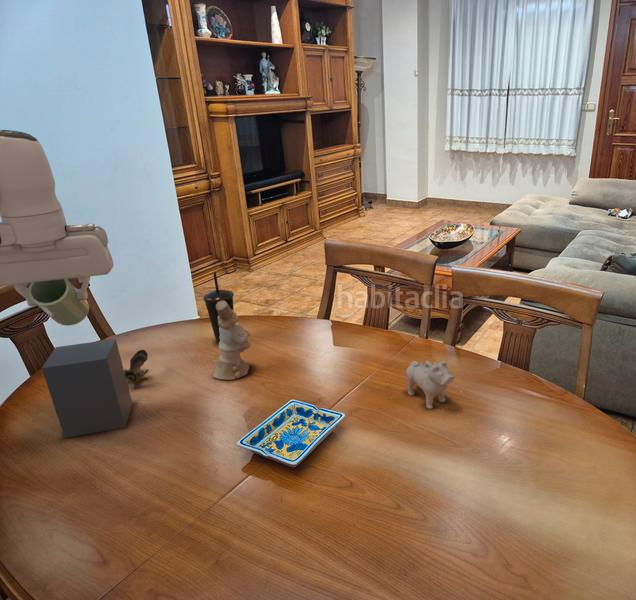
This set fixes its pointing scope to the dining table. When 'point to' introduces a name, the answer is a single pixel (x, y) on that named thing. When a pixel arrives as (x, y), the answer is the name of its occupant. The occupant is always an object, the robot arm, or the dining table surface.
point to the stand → (88, 387)
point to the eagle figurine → (137, 367)
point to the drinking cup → (211, 302)
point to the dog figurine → (429, 379)
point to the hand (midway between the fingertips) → (59, 302)
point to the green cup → (59, 301)
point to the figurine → (230, 344)
